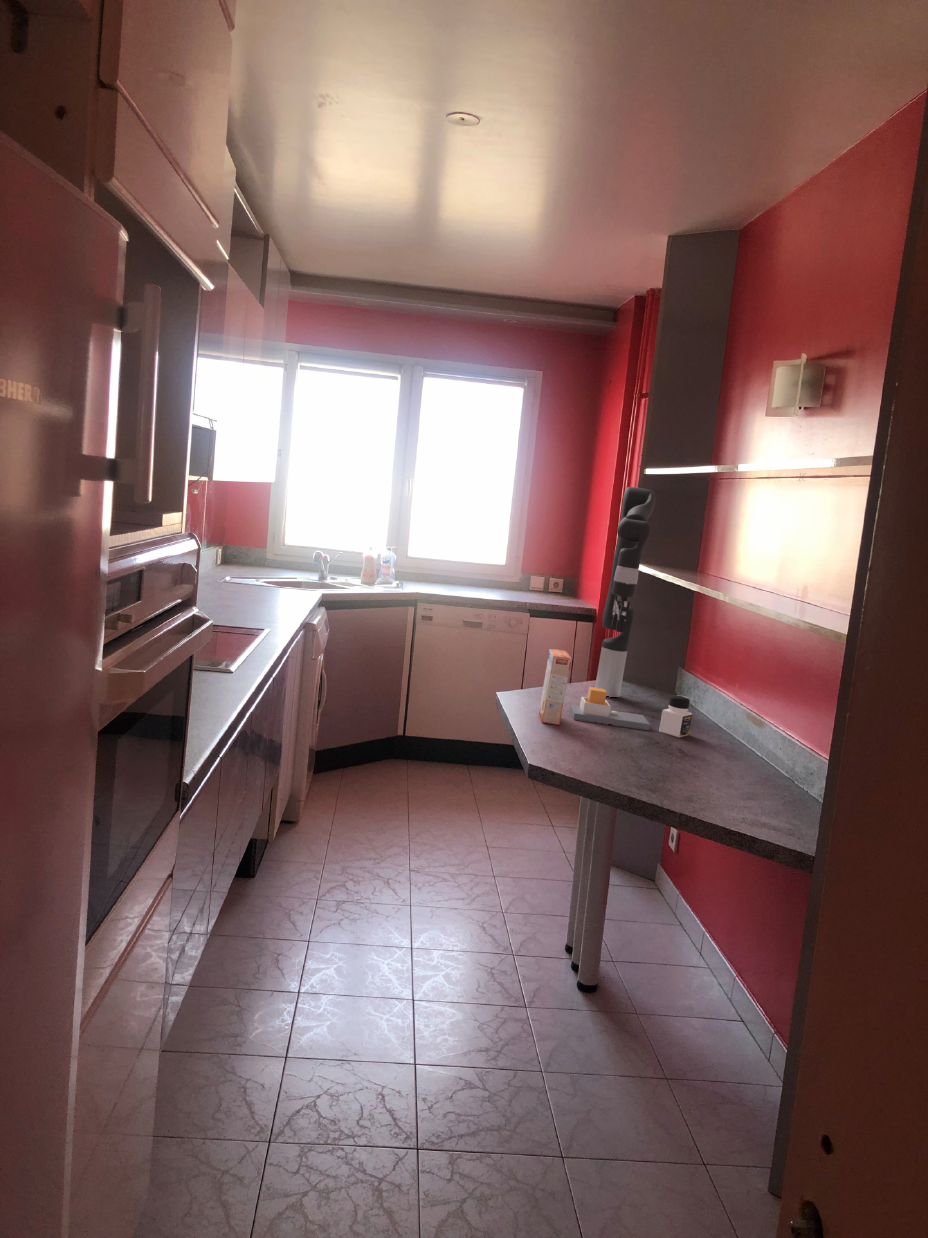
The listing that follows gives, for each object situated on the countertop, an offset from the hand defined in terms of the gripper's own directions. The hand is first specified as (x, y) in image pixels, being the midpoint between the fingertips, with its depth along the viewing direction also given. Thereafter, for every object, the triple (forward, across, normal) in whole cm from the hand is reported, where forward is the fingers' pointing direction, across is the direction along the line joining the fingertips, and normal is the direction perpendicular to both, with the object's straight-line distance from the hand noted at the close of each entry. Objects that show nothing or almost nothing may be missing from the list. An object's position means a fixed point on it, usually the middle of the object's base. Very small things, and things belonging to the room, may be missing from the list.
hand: (617, 629), depth 294 cm
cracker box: (+28, +21, -20) cm, 40 cm away
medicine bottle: (+28, +16, +20) cm, 38 cm away
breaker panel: (+28, +11, 0) cm, 30 cm away
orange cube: (+23, +11, -5) cm, 26 cm away
